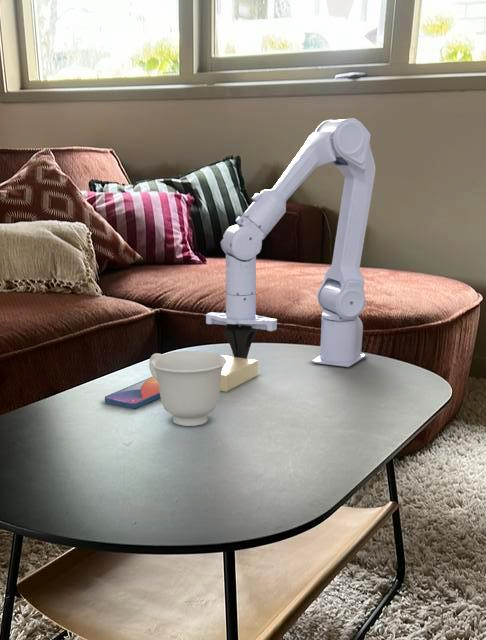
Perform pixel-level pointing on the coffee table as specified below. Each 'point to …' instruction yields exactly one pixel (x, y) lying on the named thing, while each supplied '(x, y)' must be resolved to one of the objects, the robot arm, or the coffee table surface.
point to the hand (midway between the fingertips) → (240, 363)
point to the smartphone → (135, 394)
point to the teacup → (188, 384)
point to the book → (237, 372)
